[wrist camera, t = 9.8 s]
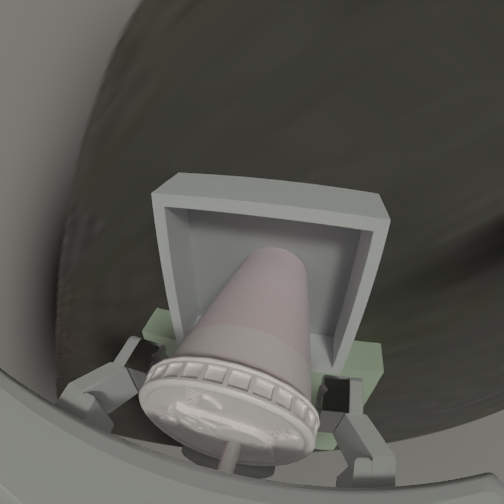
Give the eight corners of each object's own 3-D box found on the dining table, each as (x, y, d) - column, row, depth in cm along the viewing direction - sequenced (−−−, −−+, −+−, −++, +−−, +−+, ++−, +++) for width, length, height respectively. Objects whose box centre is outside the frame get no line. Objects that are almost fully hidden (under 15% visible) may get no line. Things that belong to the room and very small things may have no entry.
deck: (430, 203, 13) (493, 299, 7) (334, 429, 26) (327, 494, 20) (133, 171, 16) (38, 235, 10) (183, 402, 29) (158, 461, 23)
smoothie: (279, 333, 19) (216, 550, 7) (199, 273, 18) (69, 488, 6) (356, 277, 16) (340, 568, 4) (265, 198, 15) (98, 513, 3)
